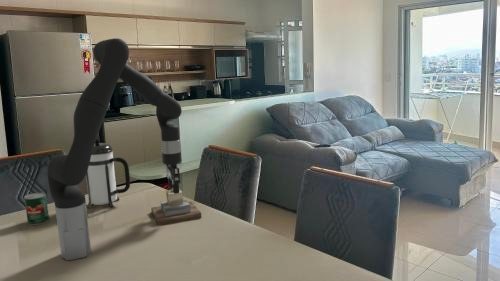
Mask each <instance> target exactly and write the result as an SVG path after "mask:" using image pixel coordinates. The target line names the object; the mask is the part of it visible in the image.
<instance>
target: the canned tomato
mask: <svg viewBox="0 0 500 281" xmlns="http://www.w3.org/2000/svg"><path fill="white" fill-rule="evenodd" d="M23 199H24V204H25V213H26V219H27V224H28V225H30V226H38V225H42V224H47V223H48V222H49V221H50V214H49V209H48V208H49V207H48V200H47V194H46V193H45V192H34V193H29V194H26V195H24V198H23Z"/></svg>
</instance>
